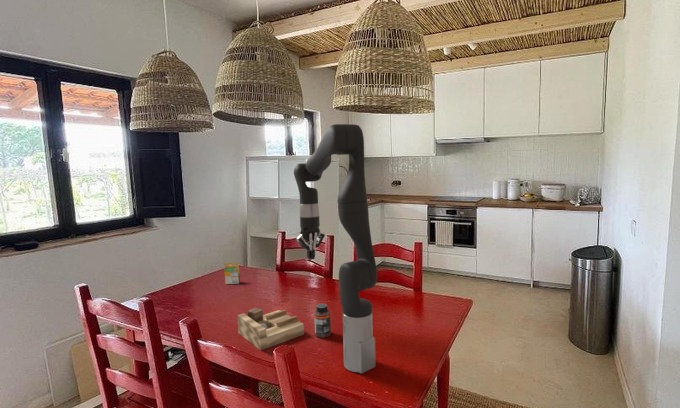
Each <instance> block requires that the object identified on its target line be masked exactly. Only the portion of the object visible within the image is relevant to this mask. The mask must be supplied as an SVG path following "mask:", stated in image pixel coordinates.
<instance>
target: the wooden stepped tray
mask: <svg viewBox="0 0 680 408" xmlns="http://www.w3.org/2000/svg"><path fill="white" fill-rule="evenodd" d="M260 323H265V324H266V325H267V326H268V329H266V328H264V327H263V326H261V325H260ZM237 329H238V331H237V332H238V334H239V335H240V336H242V337H243V338H244V339H246V340H247V341H248V342H249V343H250V344H252V345H253V346H255V348H257V349H258V350H259V351H263V350H266V349H268V348H272V347H274V346H276V345H279V344H282V343H284V342H287V341H290V340H293V339H295V338H297V337H300V336H303V335H305V324H304V323H303V322H301V321H299V320H298V316H297V315H294V316H290V315H289V314H287V309H283V310H280V309H279V310H278V309H277V310H275V311H272V312H269V313H265V314H263V320H262V321H260V322H256V321H254V320H253V319H251V318H250V317H248V314H246V313H240V314H238V315H237Z"/></svg>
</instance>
